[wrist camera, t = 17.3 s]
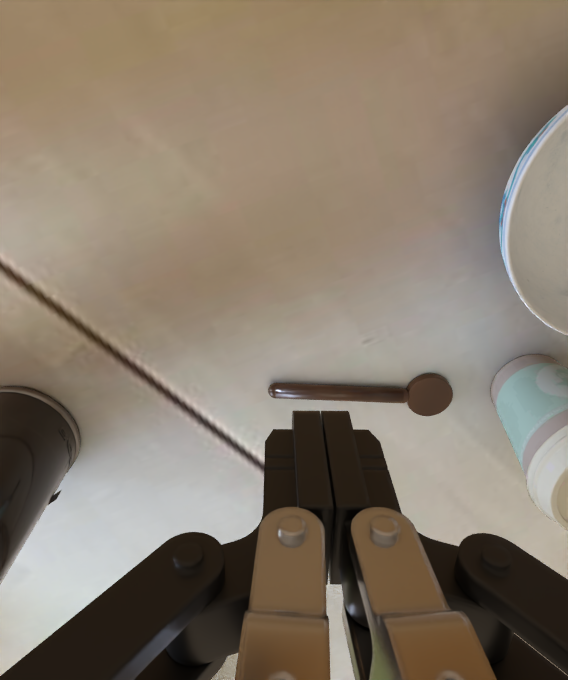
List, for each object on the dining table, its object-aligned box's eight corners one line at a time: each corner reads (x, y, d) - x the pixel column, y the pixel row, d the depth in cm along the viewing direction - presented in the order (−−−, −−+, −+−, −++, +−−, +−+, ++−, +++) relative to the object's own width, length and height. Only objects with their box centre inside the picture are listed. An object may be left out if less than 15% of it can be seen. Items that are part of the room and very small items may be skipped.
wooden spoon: (267, 405, 41) (267, 413, 40) (269, 366, 39) (268, 374, 38) (445, 412, 41) (450, 420, 40) (454, 374, 40) (458, 381, 39)
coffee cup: (603, 384, 40) (720, 490, 29) (513, 447, 43) (590, 565, 32) (542, 316, 37) (645, 404, 27) (450, 387, 40) (510, 493, 29)
